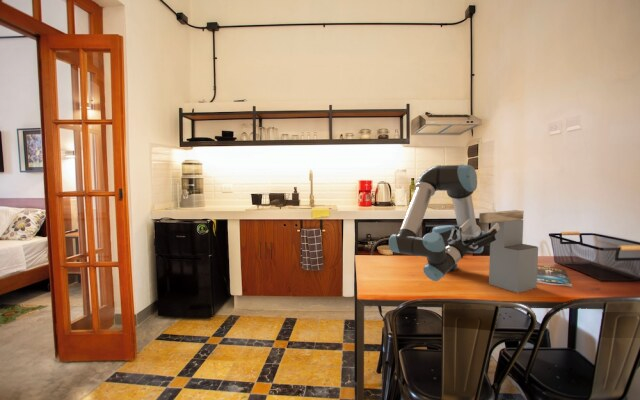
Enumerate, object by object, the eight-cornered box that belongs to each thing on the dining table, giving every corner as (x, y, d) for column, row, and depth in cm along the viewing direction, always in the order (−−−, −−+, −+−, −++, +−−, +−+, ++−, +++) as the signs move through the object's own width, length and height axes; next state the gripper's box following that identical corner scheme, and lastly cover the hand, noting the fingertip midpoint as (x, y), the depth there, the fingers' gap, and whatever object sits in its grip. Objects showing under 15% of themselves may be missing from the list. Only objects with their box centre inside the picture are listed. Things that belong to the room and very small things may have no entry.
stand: (488, 283, 153) (490, 220, 150) (507, 279, 159) (509, 218, 157) (517, 292, 141) (520, 223, 138) (536, 287, 147) (539, 221, 145)
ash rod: (479, 222, 145) (479, 213, 144) (514, 218, 157) (515, 210, 156) (487, 223, 141) (487, 214, 141) (523, 219, 153) (523, 210, 153)
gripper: (477, 251, 123) (508, 219, 131) (427, 239, 145) (456, 213, 153) (483, 266, 125) (514, 234, 133) (433, 253, 147) (462, 226, 155)
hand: (483, 223), depth 143 cm, fingers open, 13 cm apart
